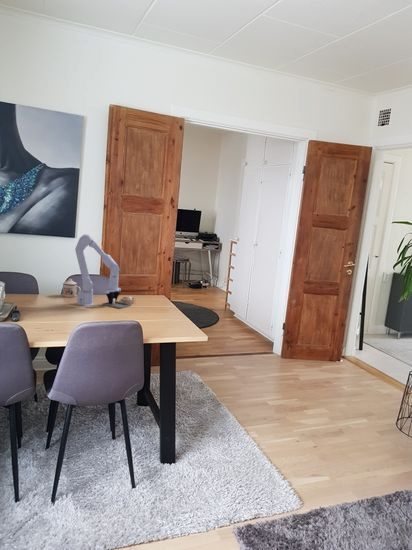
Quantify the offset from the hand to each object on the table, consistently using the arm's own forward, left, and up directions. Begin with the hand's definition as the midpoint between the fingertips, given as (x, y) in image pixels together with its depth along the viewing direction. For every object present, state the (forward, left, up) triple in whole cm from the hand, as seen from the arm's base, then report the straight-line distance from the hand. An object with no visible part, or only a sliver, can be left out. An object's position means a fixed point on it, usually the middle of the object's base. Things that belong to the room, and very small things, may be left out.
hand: (112, 303), depth 272 cm
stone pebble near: (0, 0, -1) cm, 1 cm away
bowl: (+13, -3, -1) cm, 14 cm away
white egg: (+12, -5, -1) cm, 13 cm away
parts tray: (0, -3, -1) cm, 4 cm away
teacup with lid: (+2, +35, -2) cm, 35 cm away
